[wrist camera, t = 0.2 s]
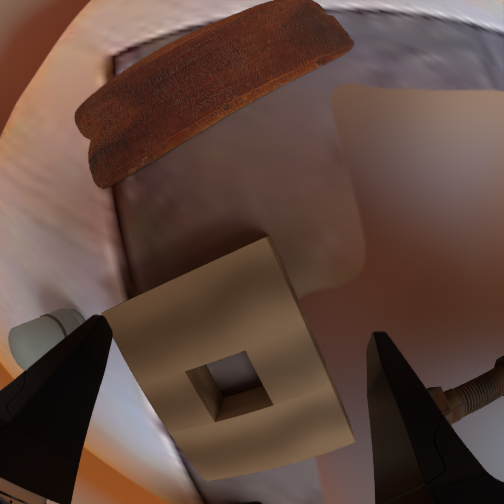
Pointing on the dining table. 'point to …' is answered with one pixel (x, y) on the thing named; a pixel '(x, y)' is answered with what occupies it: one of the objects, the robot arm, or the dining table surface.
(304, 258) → the dining table surface
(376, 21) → the dining table surface
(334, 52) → the wooden tablet
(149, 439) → the dining table surface
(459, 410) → the bolt
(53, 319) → the peg
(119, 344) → the board
